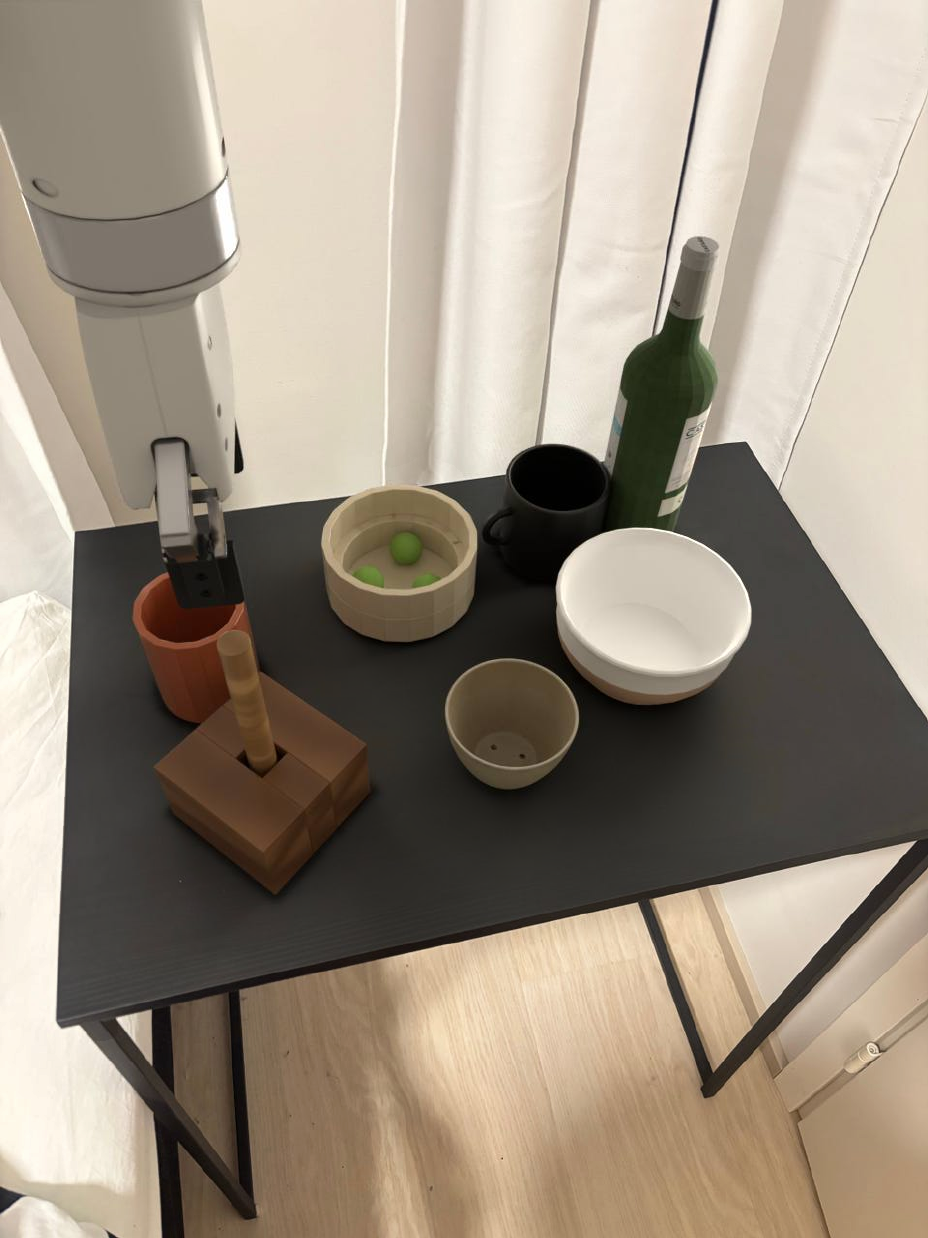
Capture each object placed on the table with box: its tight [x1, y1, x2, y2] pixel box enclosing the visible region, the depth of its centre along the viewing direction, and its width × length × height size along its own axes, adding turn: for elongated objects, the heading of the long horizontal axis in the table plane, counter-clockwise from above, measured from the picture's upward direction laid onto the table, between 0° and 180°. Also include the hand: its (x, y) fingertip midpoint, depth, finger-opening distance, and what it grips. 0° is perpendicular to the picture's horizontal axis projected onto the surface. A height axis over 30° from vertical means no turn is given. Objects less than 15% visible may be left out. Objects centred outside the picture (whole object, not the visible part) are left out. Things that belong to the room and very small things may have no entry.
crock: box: [132, 572, 261, 724], centre depth 74 cm, size 8×8×10 cm
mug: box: [481, 443, 610, 582], centre depth 86 cm, size 9×12×9 cm
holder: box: [153, 671, 371, 896], centre depth 68 cm, size 11×11×7 cm
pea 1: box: [352, 567, 384, 588], centre depth 83 cm, size 3×3×3 cm
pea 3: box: [412, 573, 441, 589], centre depth 82 cm, size 3×3×3 cm
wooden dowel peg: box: [217, 630, 278, 778], centre depth 63 cm, size 2×2×20 cm
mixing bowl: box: [320, 484, 478, 643], centre depth 83 cm, size 13×13×7 cm
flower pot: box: [444, 658, 580, 790], centre depth 71 cm, size 10×10×7 cm
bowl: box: [555, 528, 752, 706], centre depth 79 cm, size 16×16×8 cm
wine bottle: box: [601, 235, 721, 534], centre depth 80 cm, size 8×8×30 cm
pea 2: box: [390, 532, 422, 564], centre depth 86 cm, size 3×3×3 cm
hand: (214, 533), depth 49 cm, fingers open, 9 cm apart
